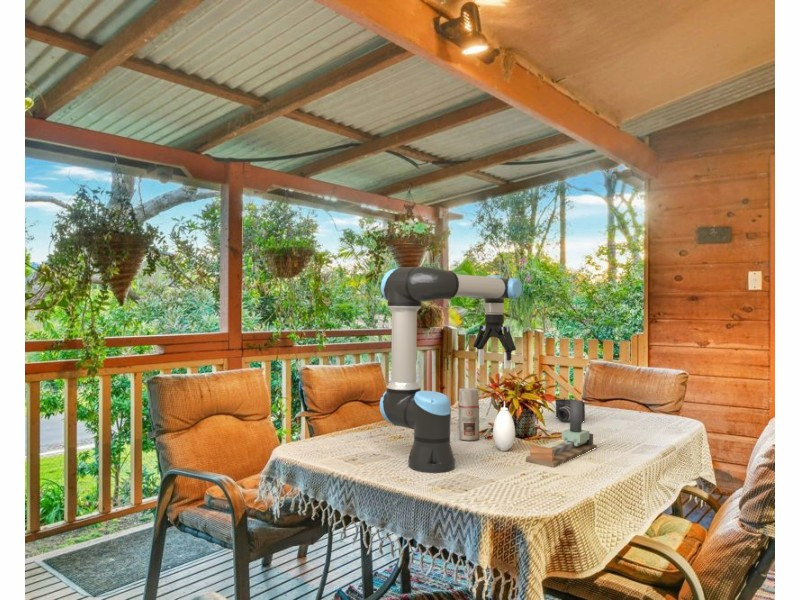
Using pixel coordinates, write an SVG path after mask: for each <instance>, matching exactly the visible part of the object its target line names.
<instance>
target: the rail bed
mask: <svg viewBox="0 0 800 600" xmlns="http://www.w3.org/2000/svg"><path fill="white" fill-rule="evenodd" d="M594 448H597V449H598V447H597V444H595V443H594V433H591V432H590V435H589V440H587V442H586V443H584V444H581V445H579V446H574V442H572V441H568V442H566V443H564V442H563V443H560V444H557V445H555V446H552V447H546V446H541V445H535V444H530V447H529V455H528V456H526V457H525V462H526V463H531V464H535V465H540V466H544V467H549V468H556V467H558V465H559V466H561V465H563V464H566V463H567V461H568V462H570V461H572V460H574V459H573V458H575V457H577V456H579V455H582V454H584V453H586V452H588V451H590V450H592V449H594ZM588 453H589V452H588ZM586 454H587V453H586ZM584 455H585V454H584ZM582 456H583V455H582ZM579 457H580V456H579ZM577 458H578V457H577ZM571 459H572V460H571ZM575 459H576V458H575ZM569 460H570V461H569ZM562 463H563V464H562ZM560 464H561V465H560Z"/></svg>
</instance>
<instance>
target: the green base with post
mask: <svg viewBox="0 0 800 600" xmlns="http://www.w3.org/2000/svg"><path fill="white" fill-rule="evenodd" d="M582 401H583V400H581V401H579V400H578V399H576V400H575V399H572V400H571V401H570V421H569V428H567V429H565V430H564V429H563V430H562V431H561V440H562V441H563V443H566V442H568V441H572V442H574V446H579V445H581V444H584V443H586V442H587V440H589V435H590V433H591V432H590V430H587V429H586V430H585V429H582V427H583V426H582V424H583V423H582Z"/></svg>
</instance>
